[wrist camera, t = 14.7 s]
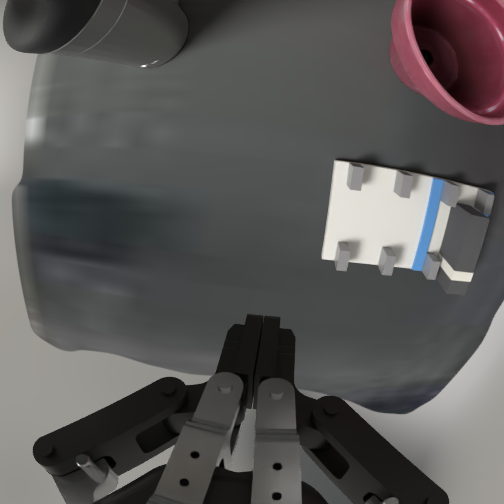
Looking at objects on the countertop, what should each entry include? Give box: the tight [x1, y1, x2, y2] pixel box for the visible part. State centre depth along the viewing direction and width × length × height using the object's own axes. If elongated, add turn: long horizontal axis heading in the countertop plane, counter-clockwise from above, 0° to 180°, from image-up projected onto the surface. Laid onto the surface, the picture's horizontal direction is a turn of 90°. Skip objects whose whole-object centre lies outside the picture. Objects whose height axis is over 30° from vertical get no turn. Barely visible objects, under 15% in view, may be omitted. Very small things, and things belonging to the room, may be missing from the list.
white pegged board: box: [321, 159, 494, 280], centre depth 32 cm, size 12×22×4 cm, turn 87°
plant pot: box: [389, 0, 504, 125], centre depth 19 cm, size 14×14×13 cm
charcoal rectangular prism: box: [436, 203, 490, 295], centre depth 31 cm, size 10×3×5 cm, turn 177°
